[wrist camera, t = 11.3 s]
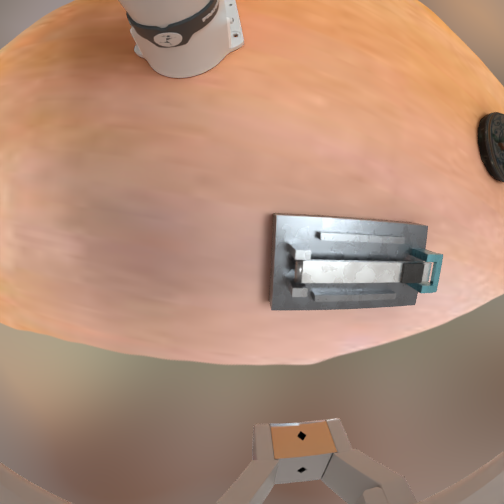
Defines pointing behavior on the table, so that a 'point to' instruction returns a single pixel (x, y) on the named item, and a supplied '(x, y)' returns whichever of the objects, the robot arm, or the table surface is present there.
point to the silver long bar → (360, 271)
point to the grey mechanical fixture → (345, 248)
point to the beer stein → (492, 144)
